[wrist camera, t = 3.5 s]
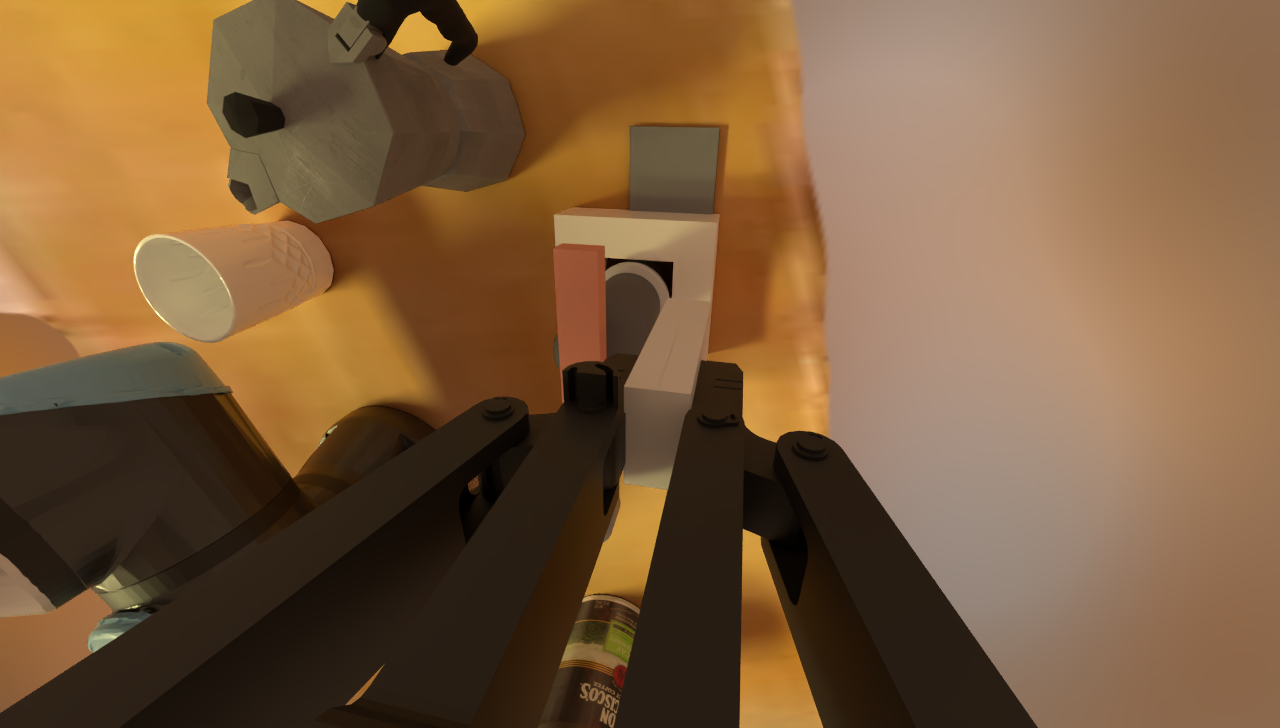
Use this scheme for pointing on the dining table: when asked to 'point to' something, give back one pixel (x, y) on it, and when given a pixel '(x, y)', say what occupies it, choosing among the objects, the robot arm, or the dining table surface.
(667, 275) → the plug
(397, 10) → the coffeepot
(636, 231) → the socket block
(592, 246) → the pink grey-tipped stick
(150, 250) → the white cup
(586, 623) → the coffee can
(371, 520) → the robot arm
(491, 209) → the dining table surface
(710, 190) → the coaster
